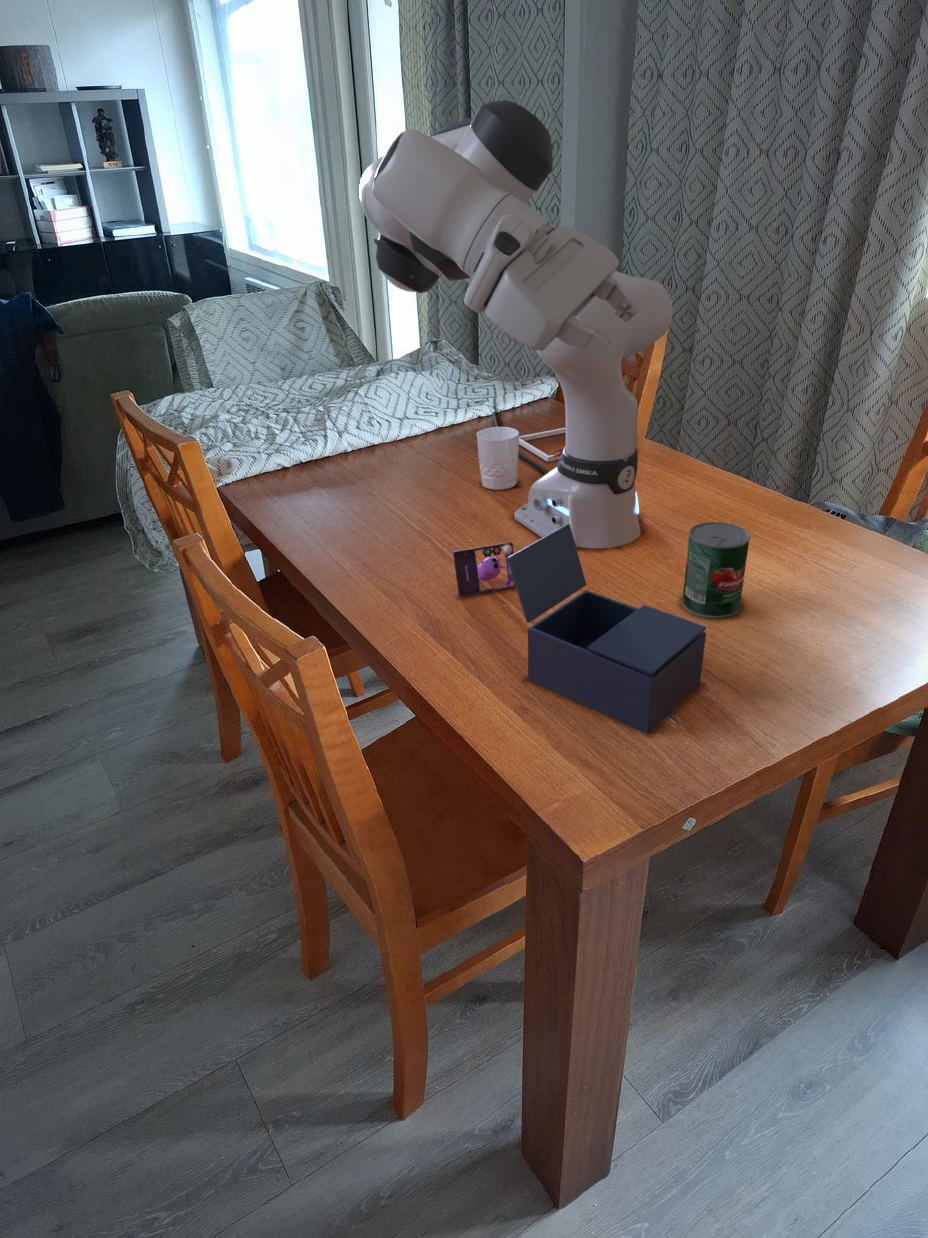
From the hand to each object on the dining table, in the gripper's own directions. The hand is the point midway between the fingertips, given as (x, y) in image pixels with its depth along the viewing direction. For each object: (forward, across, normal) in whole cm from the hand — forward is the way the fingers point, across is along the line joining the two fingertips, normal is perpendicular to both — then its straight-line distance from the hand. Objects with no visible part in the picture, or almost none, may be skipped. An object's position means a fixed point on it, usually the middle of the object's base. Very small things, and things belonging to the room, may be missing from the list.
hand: (620, 331), depth 85 cm
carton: (+24, +11, -31) cm, 41 cm away
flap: (+10, +6, -27) cm, 29 cm away
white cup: (-4, -43, -61) cm, 75 cm away
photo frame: (+1, -68, -62) cm, 92 cm away
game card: (+5, -5, -48) cm, 48 cm away
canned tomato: (+32, -12, -31) cm, 46 cm away
